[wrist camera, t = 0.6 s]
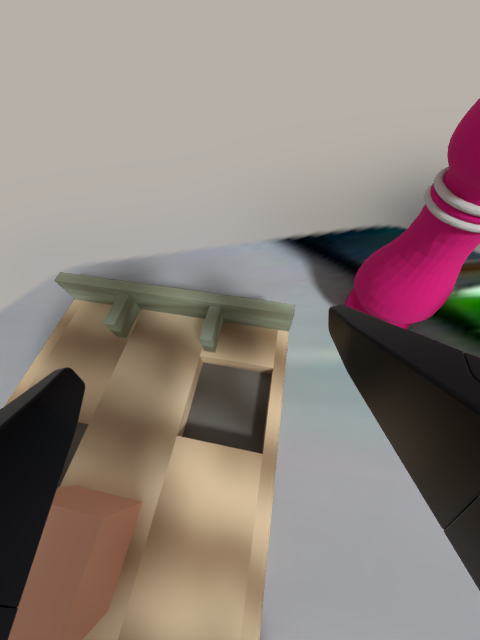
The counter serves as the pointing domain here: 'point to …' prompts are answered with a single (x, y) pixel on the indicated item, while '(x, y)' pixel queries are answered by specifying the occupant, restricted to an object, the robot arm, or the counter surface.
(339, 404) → the counter surface
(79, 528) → the block
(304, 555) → the counter surface
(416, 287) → the pepper mill
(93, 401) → the board
